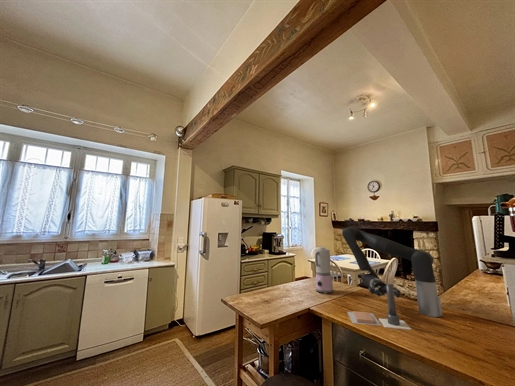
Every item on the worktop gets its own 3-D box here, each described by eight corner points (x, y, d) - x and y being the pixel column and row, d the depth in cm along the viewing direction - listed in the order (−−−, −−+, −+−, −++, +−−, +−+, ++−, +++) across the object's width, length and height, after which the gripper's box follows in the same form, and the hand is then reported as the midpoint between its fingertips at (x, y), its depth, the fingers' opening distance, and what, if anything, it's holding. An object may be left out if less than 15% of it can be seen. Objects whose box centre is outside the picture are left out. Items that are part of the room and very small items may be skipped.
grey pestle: (397, 321, 103) (393, 283, 106) (401, 326, 99) (396, 285, 101) (386, 320, 104) (382, 282, 107) (390, 325, 100) (385, 285, 103)
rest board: (402, 322, 104) (402, 320, 104) (411, 331, 96) (411, 328, 96) (378, 320, 107) (378, 318, 107) (384, 328, 98) (384, 326, 98)
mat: (372, 314, 114) (372, 313, 114) (381, 326, 100) (381, 325, 100) (347, 312, 117) (347, 311, 117) (352, 324, 103) (352, 322, 103)
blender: (321, 288, 163) (319, 246, 168) (336, 291, 154) (333, 247, 159) (310, 292, 152) (308, 247, 157) (325, 296, 143) (322, 249, 148)
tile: (368, 312, 112) (374, 320, 102) (369, 315, 112) (374, 323, 102) (352, 311, 114) (356, 319, 104) (353, 314, 113) (357, 322, 104)
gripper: (364, 279, 124) (372, 286, 109) (391, 280, 121) (403, 288, 105) (365, 292, 123) (374, 302, 107) (392, 293, 120) (405, 303, 104)
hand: (388, 295), depth 106 cm, fingers open, 8 cm apart
